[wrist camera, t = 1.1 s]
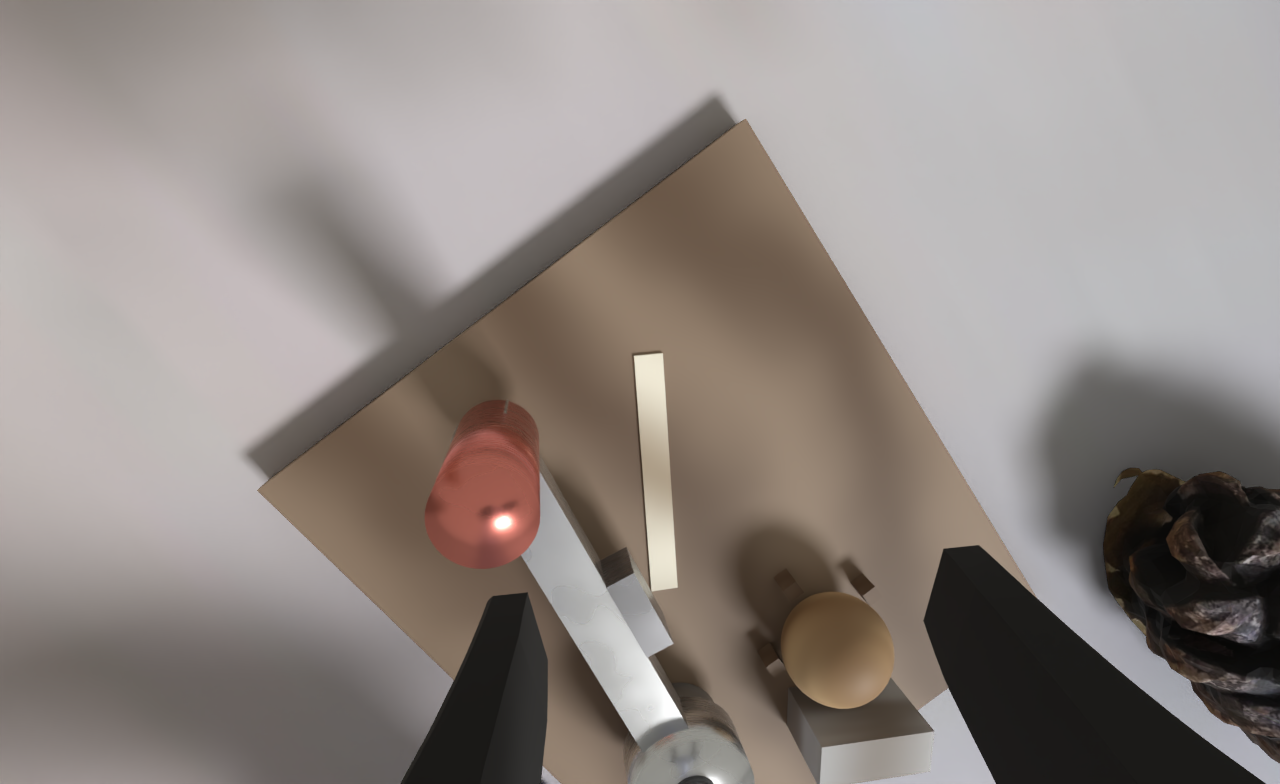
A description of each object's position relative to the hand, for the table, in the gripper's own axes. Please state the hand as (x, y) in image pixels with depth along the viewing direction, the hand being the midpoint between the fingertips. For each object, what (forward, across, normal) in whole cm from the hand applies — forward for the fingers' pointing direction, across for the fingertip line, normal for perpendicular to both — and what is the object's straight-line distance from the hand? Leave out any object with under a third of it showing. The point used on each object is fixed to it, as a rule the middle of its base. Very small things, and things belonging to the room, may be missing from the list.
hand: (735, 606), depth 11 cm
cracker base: (+10, 0, +10) cm, 14 cm away
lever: (+7, +3, +10) cm, 12 cm away
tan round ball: (+8, -5, +13) cm, 16 cm away
